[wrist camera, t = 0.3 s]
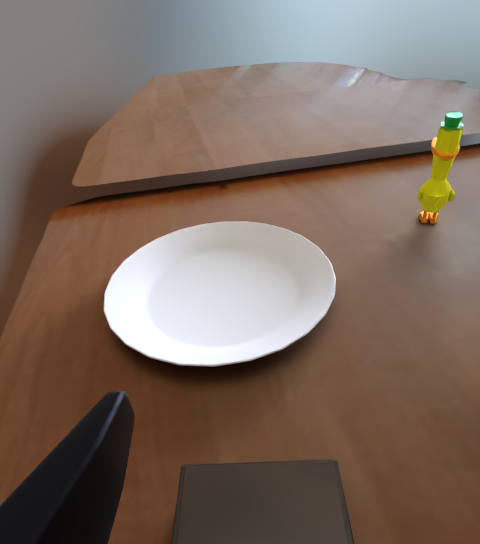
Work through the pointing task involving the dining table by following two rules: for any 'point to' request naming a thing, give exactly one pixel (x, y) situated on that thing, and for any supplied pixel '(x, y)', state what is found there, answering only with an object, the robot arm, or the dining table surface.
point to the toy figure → (441, 167)
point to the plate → (219, 293)
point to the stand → (262, 504)
